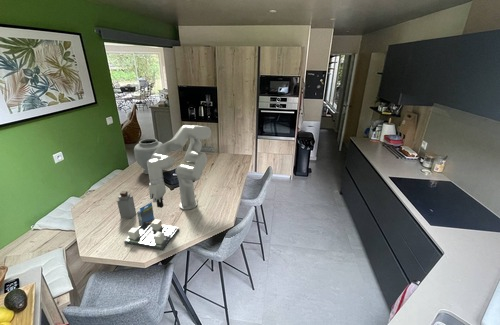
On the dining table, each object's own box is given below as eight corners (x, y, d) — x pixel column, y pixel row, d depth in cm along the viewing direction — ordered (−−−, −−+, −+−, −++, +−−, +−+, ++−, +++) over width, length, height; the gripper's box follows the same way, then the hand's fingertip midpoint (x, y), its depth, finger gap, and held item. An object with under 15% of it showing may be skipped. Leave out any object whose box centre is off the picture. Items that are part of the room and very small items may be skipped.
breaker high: (158, 238, 135) (157, 231, 134) (165, 239, 135) (164, 232, 133) (154, 243, 132) (153, 236, 130) (161, 244, 131) (160, 237, 129)
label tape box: (150, 216, 159) (147, 200, 154) (154, 218, 157) (151, 202, 152) (138, 223, 152) (135, 206, 147) (143, 225, 150) (139, 208, 145)
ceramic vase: (171, 172, 224) (167, 142, 213) (141, 179, 210) (135, 147, 199) (163, 163, 244) (159, 135, 233) (135, 169, 230) (129, 139, 219)
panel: (144, 224, 151) (143, 220, 150) (179, 230, 146) (178, 226, 145) (124, 243, 134) (123, 239, 133) (163, 250, 130) (162, 246, 129)
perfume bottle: (126, 212, 162) (121, 189, 156) (136, 213, 162) (131, 189, 156) (121, 218, 156) (115, 194, 149) (131, 218, 156) (126, 194, 149)
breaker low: (134, 234, 139) (132, 227, 137) (140, 235, 138) (138, 228, 136) (129, 238, 135) (127, 231, 133) (135, 240, 134) (134, 232, 132)
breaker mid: (156, 225, 146) (155, 219, 144) (162, 226, 145) (161, 219, 143) (152, 230, 142) (151, 222, 141) (158, 231, 142) (157, 223, 140)
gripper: (158, 173, 146) (161, 199, 153) (142, 184, 132) (147, 212, 139) (169, 175, 144) (172, 201, 151) (154, 185, 131) (158, 214, 138)
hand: (160, 206), depth 145 cm, fingers closed
